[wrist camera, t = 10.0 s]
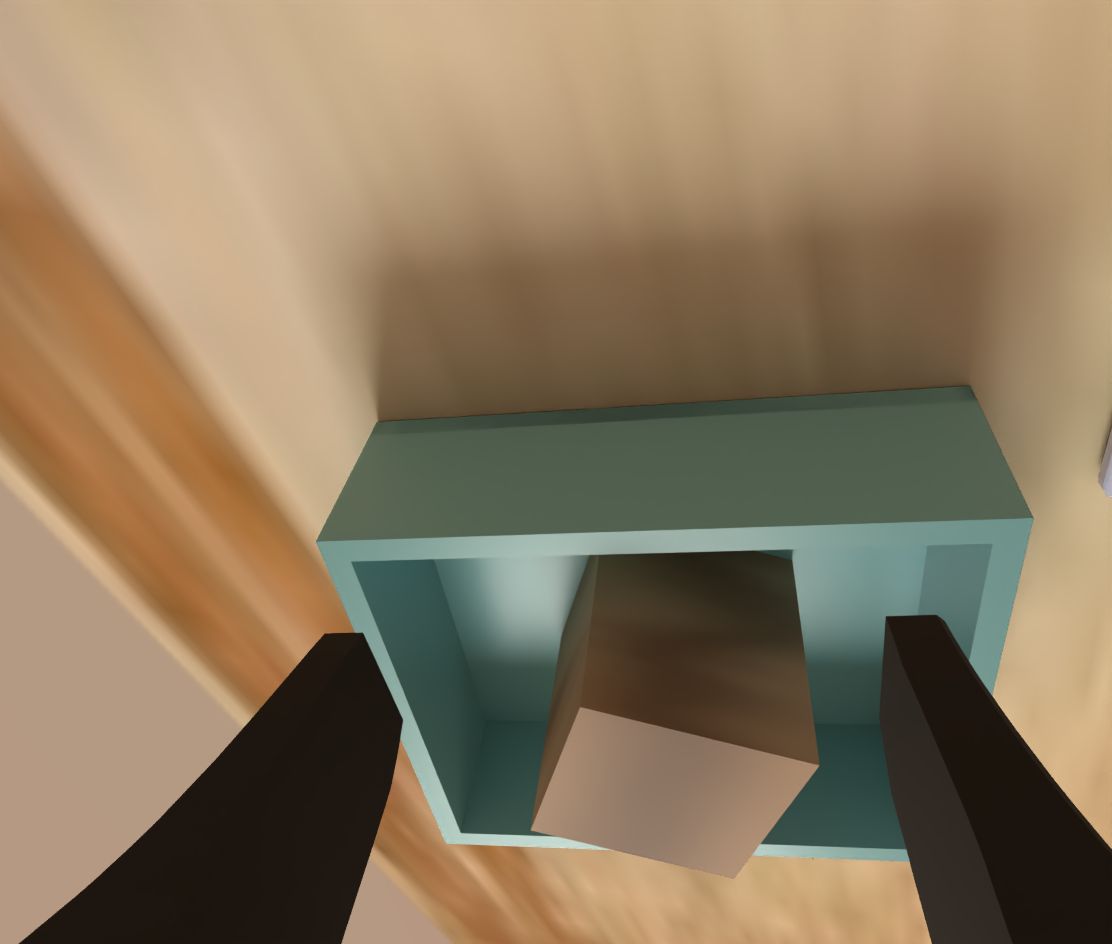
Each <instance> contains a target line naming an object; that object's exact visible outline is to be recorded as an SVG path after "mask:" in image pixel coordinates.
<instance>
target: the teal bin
mask: <svg viewBox="0 0 1112 944" xmlns="http://www.w3.org/2000/svg"><path fill="white" fill-rule="evenodd" d="M1032 523H1033V516H1032V514H1031V512H1030V510H1029V508H1028V505H1027V503H1026V501H1025V499H1024V497H1023V495H1022V493H1021V491H1020V489H1019V487H1018V485H1017V482H1016V480H1015V478H1014V476H1013V474H1012V472H1011V470H1010V468H1009V466H1008V464H1007V462H1006V459H1005V457H1004V455H1003V453H1002V451H1001V449H1000V447H999V445H998V443H997V441H996V439H995V436H994V434H993V432H992V430H991V428H990V426H989V424H988V422H987V420H986V418H985V416H984V413H983V411H982V409H981V407H980V405H979V403H978V401H977V399H976V397H975V395H974V393H973V390H972V388H971V386H960V387H943V388H927V389H910V390H894V391H877V392H861V393H845V394H828V395H812V396H795V397H779V398H762V399H746V400H730V401H713V402H697V403H680V404H664V405H647V406H631V407H615V408H598V409H582V410H565V411H549V412H533V413H516V414H500V415H483V416H467V417H450V418H434V419H418V420H401V421H385V422H377V423H376V425H375V427H374V429H373V431H372V433H371V435H370V437H369V439H368V441H367V443H366V445H365V447H364V449H363V451H362V453H361V454H360V456H359V458H358V460H357V462H356V464H355V466H354V468H353V470H352V472H351V474H350V476H349V478H348V480H347V482H346V484H345V486H344V488H343V490H342V492H341V494H340V496H339V498H338V500H337V501H336V503H335V505H334V507H333V509H332V511H331V513H330V515H329V517H328V519H327V521H326V523H325V525H324V527H323V529H322V531H321V533H320V535H319V537H318V539H317V541H316V543H317V545H318V548H319V550H320V552H321V555H322V557H323V559H324V562H325V564H326V566H327V568H328V571H329V573H330V575H331V578H332V580H333V582H334V585H335V587H336V589H337V592H338V594H339V596H340V599H341V601H342V603H343V606H344V608H345V610H346V613H347V615H348V617H349V620H350V622H351V624H352V627H353V629H354V631H355V633H362V632H363V633H364V636H365V638H366V640H367V642H368V644H369V646H370V649H371V651H372V653H373V655H374V657H375V659H376V662H377V664H378V666H379V668H380V670H381V672H382V675H383V677H384V679H385V681H386V683H387V686H388V688H389V690H390V692H391V694H392V696H393V699H394V701H395V703H396V705H397V707H398V709H399V712H400V714H401V716H402V718H403V725H402V731H401V737H400V738H401V740H402V743H403V745H404V747H405V750H406V752H407V754H408V757H409V759H410V761H411V764H412V766H413V768H414V771H415V773H416V775H417V778H418V780H419V782H420V785H421V787H422V789H423V792H424V794H425V796H426V799H427V801H428V803H429V806H430V808H431V810H432V813H433V815H434V817H435V820H436V822H437V824H438V826H439V829H440V831H441V833H442V836H443V838H444V840H445V843H447V844H472V845H498V846H523V847H548V848H574V849H599V850H611V849H607V848H603V847H599V846H594V845H590V844H586V843H582V842H577V841H573V840H569V839H565V838H561V837H556V836H552V835H548V834H544V833H540V832H535V831H531V825H532V819H533V812H534V806H535V800H536V793H537V787H538V781H539V774H540V768H541V762H542V755H543V749H544V743H545V736H546V730H547V724H548V717H549V711H550V705H551V698H552V692H553V686H554V679H555V673H556V667H557V660H558V654H559V648H560V641H561V636H562V633H563V630H564V627H565V625H566V622H567V619H568V616H569V613H570V610H571V607H572V604H573V601H574V599H575V596H576V593H577V590H578V587H579V584H580V581H581V578H582V575H583V573H584V570H585V567H586V564H587V561H588V558H589V555H605V554H641V553H677V552H713V551H749V550H754V551H758V552H762V553H766V554H770V555H774V556H778V557H782V558H785V559H789V560H792V561H793V568H794V576H795V584H796V591H797V599H798V606H799V614H800V621H801V629H802V636H803V644H804V652H805V659H806V667H807V674H808V682H809V689H810V697H811V704H812V712H813V720H814V727H815V735H816V742H817V750H818V757H819V765H820V766H819V767H818V768H817V770H816V771H815V772H814V774H813V775H812V776H811V778H810V779H809V780H808V782H807V783H806V784H805V786H804V787H803V788H802V789H801V791H800V792H799V793H798V795H797V796H796V797H795V799H794V800H793V801H792V803H791V804H790V805H789V807H788V808H787V809H786V811H785V812H784V813H783V815H782V816H781V817H780V819H779V820H778V821H777V823H776V824H775V825H774V827H773V828H772V829H771V831H770V832H769V833H768V835H767V836H766V837H765V838H764V840H763V841H762V842H761V844H760V845H759V846H758V848H757V849H756V850H755V852H754V853H753V854H752V856H778V857H803V858H829V859H854V860H880V861H905V862H910V861H909V857H908V854H907V850H906V846H905V843H904V839H903V835H902V831H901V828H900V824H899V820H898V816H897V813H896V809H895V805H894V801H893V798H892V794H891V788H890V782H889V776H888V770H887V764H886V758H885V751H884V745H883V739H882V732H881V726H880V719H879V709H880V694H881V679H882V664H883V649H884V634H885V619H886V616H908V615H938V616H939V617H940V618H942V619H943V620H944V621H945V622H946V624H947V625H948V627H949V629H950V631H951V632H952V634H953V636H954V638H955V639H956V641H957V642H958V644H959V646H960V647H961V649H962V651H963V652H964V654H965V656H966V657H967V659H968V660H969V662H970V663H971V665H972V667H973V668H974V670H975V671H976V673H977V674H978V676H979V677H980V679H981V680H982V682H983V683H984V685H985V686H986V688H987V689H988V691H989V692H990V693H991V695H992V694H993V689H994V685H995V681H996V677H997V672H998V668H999V664H1000V660H1001V655H1002V651H1003V647H1004V642H1005V638H1006V634H1007V630H1008V625H1009V621H1010V617H1011V612H1012V608H1013V604H1014V600H1015V595H1016V591H1017V587H1018V583H1019V578H1020V574H1021V570H1022V565H1023V561H1024V557H1025V553H1026V548H1027V544H1028V540H1029V536H1030V531H1031V527H1032Z"/></svg>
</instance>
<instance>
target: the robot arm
mask: <svg viewBox="0 0 1112 944" xmlns="http://www.w3.org/2000/svg"><path fill="white" fill-rule="evenodd" d="M1098 482H1099V484H1100V485H1101V487H1102V489H1103V490H1104V492H1105V493H1106V495H1107V496H1109V497H1111V498H1112V429H1111V433H1110V436H1109V440H1108V443H1107V447H1106V450H1105V454H1104V458H1103V461H1102V465H1101V468H1100V472H1099V475H1098ZM879 719H880V726H881V732H882V739H883V745H884V751H885V758H886V764H887V770H888V776H889V782H890V788H891V794H892V798H893V801H894V805H895V809H896V813H897V816H898V820H899V824H900V828H901V831H902V835H903V839H904V843H905V846H906V850H907V854H908V857H909V861H910V865H911V868H912V872H913V876H914V879H915V883H916V887H917V890H918V894H919V898H920V901H921V905H922V909H923V912H924V916H925V920H926V923H927V927H928V931H929V934H930V938H931V942H932V944H1112V849H1111V848H1110V847H1109V846H1108V844H1107V843H1106V842H1105V841H1104V840H1103V839H1102V837H1101V836H1100V835H1099V834H1098V833H1097V831H1096V830H1095V829H1094V828H1093V827H1092V825H1091V824H1090V823H1089V822H1088V821H1087V819H1086V818H1085V817H1084V816H1083V815H1082V814H1081V812H1080V811H1079V810H1078V809H1077V808H1076V806H1075V805H1074V804H1073V803H1072V802H1071V800H1070V799H1069V798H1068V797H1067V795H1066V794H1065V793H1064V792H1063V790H1062V789H1061V788H1060V787H1059V785H1058V784H1057V783H1056V782H1055V780H1054V779H1053V778H1052V777H1051V775H1050V774H1049V773H1048V771H1047V770H1046V769H1045V767H1044V766H1043V765H1042V763H1041V762H1040V761H1039V759H1038V758H1037V757H1036V755H1035V754H1034V753H1033V751H1032V750H1031V749H1030V747H1029V746H1028V745H1027V744H1026V742H1025V741H1024V740H1023V738H1022V737H1021V736H1020V734H1019V733H1018V732H1017V730H1016V729H1015V728H1014V726H1013V725H1012V723H1011V722H1010V721H1009V719H1008V718H1007V716H1006V715H1005V714H1004V712H1003V711H1002V709H1001V708H1000V707H999V705H998V704H997V702H996V701H995V699H994V698H993V696H992V695H991V693H990V692H989V691H988V689H987V688H986V686H985V685H984V683H983V682H982V680H981V679H980V677H979V676H978V674H977V673H976V671H975V670H974V668H973V667H972V665H971V663H970V662H969V660H968V659H967V657H966V656H965V654H964V652H963V651H962V649H961V647H960V646H959V644H958V642H957V641H956V639H955V638H954V636H953V634H952V632H951V631H950V629H949V627H948V625H947V624H946V622H945V621H944V620H943V619H942V618H940V617H939V616H938V615H908V616H886V619H885V634H884V649H883V664H882V679H881V694H880V709H879ZM402 725H403V718H402V716H401V714H400V712H399V709H398V707H397V705H396V703H395V701H394V699H393V696H392V694H391V692H390V690H389V688H388V686H387V683H386V681H385V679H384V677H383V675H382V672H381V670H380V668H379V666H378V664H377V662H376V659H375V657H374V655H373V653H372V651H371V649H370V646H369V644H368V642H367V640H366V638H365V636H364V633H363V632H362V633H330V634H324V635H323V636H322V637H321V639H320V640H319V641H318V642H317V643H316V644H315V645H314V646H313V648H312V649H311V650H310V651H309V652H308V653H307V655H306V656H305V657H304V658H303V659H302V660H301V662H300V663H299V664H298V665H297V666H296V667H295V669H294V670H293V671H292V672H291V673H290V674H289V676H288V677H287V678H286V679H285V680H284V681H283V683H282V684H281V685H280V686H279V687H278V689H277V690H276V691H275V692H274V693H273V694H272V696H271V697H270V698H269V699H268V700H267V701H266V703H265V704H264V705H263V706H262V707H261V708H260V710H259V711H258V712H257V713H256V714H255V715H254V717H253V718H252V719H251V720H250V721H249V722H248V723H247V724H246V726H245V727H244V728H243V729H242V730H241V731H240V732H239V734H238V735H237V736H236V737H235V738H234V739H233V740H232V742H231V743H230V744H229V745H228V746H227V747H226V748H225V749H224V751H223V752H222V753H221V754H220V755H219V756H218V758H217V759H216V760H215V761H214V762H213V763H212V764H211V765H210V766H209V767H208V768H207V769H206V770H205V771H204V772H203V773H202V774H201V776H200V777H199V778H198V779H197V780H196V781H195V782H194V783H193V784H192V785H191V786H190V787H189V788H188V789H187V791H185V793H183V795H182V796H181V797H180V798H179V799H178V800H177V801H176V802H175V803H174V804H173V805H172V806H171V807H170V808H169V809H168V810H167V811H166V812H165V814H164V815H163V816H162V817H161V818H160V819H159V820H158V821H157V822H156V823H155V824H154V825H153V826H152V827H151V828H150V829H149V830H148V831H147V832H146V833H145V834H144V835H143V836H141V837H140V838H139V839H138V840H137V841H136V842H135V843H134V844H133V845H132V846H131V847H130V848H129V849H128V850H127V851H126V852H125V853H124V854H122V855H121V856H120V857H119V858H118V859H117V860H116V861H115V862H114V863H113V864H112V865H110V866H109V867H108V868H107V869H106V870H105V871H104V872H103V873H102V874H101V875H100V876H99V877H97V878H96V879H95V880H94V881H93V882H92V883H91V884H90V885H88V886H87V887H86V888H85V889H84V890H83V891H82V892H80V893H79V894H78V895H77V896H76V897H75V898H73V899H72V900H71V901H70V902H69V903H67V904H66V905H65V906H64V907H62V908H61V909H60V910H59V911H58V912H57V913H55V914H54V915H53V916H52V917H51V918H49V919H48V920H47V921H46V922H44V923H43V924H42V925H41V926H40V927H38V928H37V929H36V930H35V931H34V932H33V933H31V934H30V935H29V936H28V937H26V938H25V939H24V940H23V941H22V942H20V943H19V944H341V943H342V940H343V936H344V933H345V930H346V927H347V924H348V921H349V918H350V915H351V912H352V909H353V905H354V902H355V899H356V896H357V893H358V890H359V887H360V884H361V881H362V878H363V875H364V871H365V868H366V865H367V862H368V859H369V856H370V853H371V850H372V847H373V844H374V840H375V837H376V834H377V831H378V828H379V825H380V821H381V818H382V815H383V812H384V809H385V805H386V802H387V799H388V795H389V792H390V789H391V784H392V779H393V774H394V769H395V765H396V760H397V754H398V748H399V743H400V737H401V731H402Z"/></svg>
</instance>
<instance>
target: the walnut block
mask: <svg viewBox="0 0 1112 944" xmlns="http://www.w3.org/2000/svg"><path fill="white" fill-rule="evenodd" d="M819 766H820V765H819V757H818V750H817V742H816V735H815V727H814V720H813V712H812V704H811V697H810V689H809V682H808V674H807V667H806V659H805V652H804V644H803V636H802V629H801V621H800V614H799V606H798V599H797V591H796V584H795V576H794V568H793V561H792V560H789V559H785V558H782V557H778V556H774V555H770V554H766V553H762V552H758V551H754V550H749V551H713V552H677V553H641V554H605V555H589V558H588V561H587V564H586V567H585V570H584V573H583V575H582V578H581V581H580V584H579V587H578V590H577V593H576V596H575V599H574V601H573V604H572V607H571V610H570V613H569V616H568V619H567V622H566V625H565V627H564V630H563V633H562V636H561V641H560V648H559V654H558V660H557V667H556V673H555V679H554V686H553V692H552V698H551V705H550V711H549V717H548V724H547V730H546V736H545V743H544V749H543V755H542V762H541V768H540V774H539V781H538V787H537V793H536V800H535V806H534V812H533V819H532V825H531V831H535V832H540V833H544V834H548V835H552V836H556V837H561V838H565V839H569V840H573V841H577V842H582V843H586V844H590V845H594V846H599V847H603V848H607V849H611V850H615V851H620V852H624V853H628V854H632V855H636V856H641V857H645V858H649V859H653V860H657V861H662V862H666V863H670V864H674V865H678V866H683V867H687V868H691V869H695V870H699V871H704V872H708V873H712V874H716V875H720V876H725V877H729V878H733V879H734V878H735V877H736V876H737V874H738V873H739V872H740V870H741V869H742V868H743V866H744V865H745V864H746V862H747V861H748V860H749V858H750V857H751V856H752V854H753V853H754V852H755V850H756V849H757V848H758V846H759V845H760V844H761V842H762V841H763V840H764V838H765V837H766V836H767V835H768V833H769V832H770V831H771V829H772V828H773V827H774V825H775V824H776V823H777V821H778V820H779V819H780V817H781V816H782V815H783V813H784V812H785V811H786V809H787V808H788V807H789V805H790V804H791V803H792V801H793V800H794V799H795V797H796V796H797V795H798V793H799V792H800V791H801V789H802V788H803V787H804V786H805V784H806V783H807V782H808V780H809V779H810V778H811V776H812V775H813V774H814V772H815V771H816V770H817V768H818V767H819Z"/></svg>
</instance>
